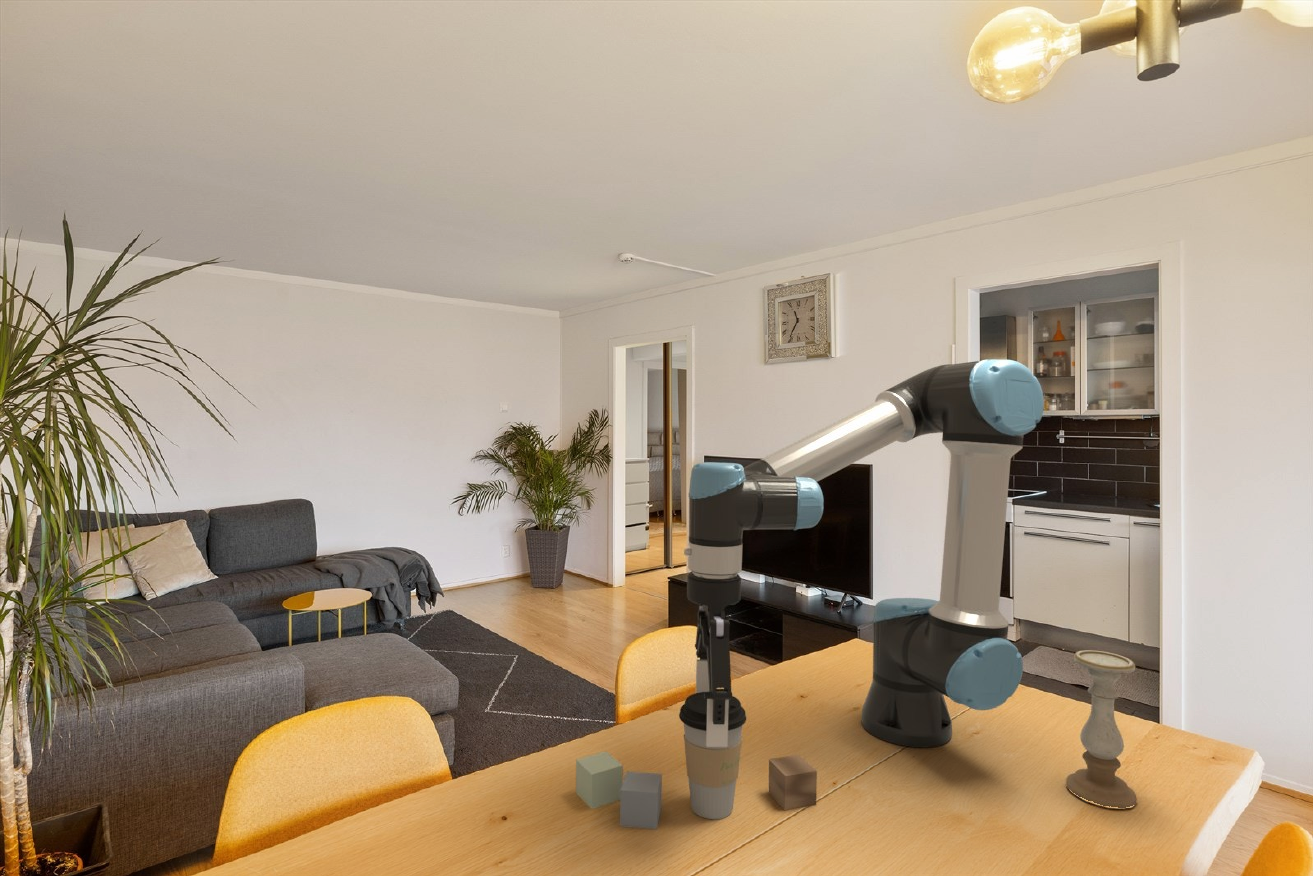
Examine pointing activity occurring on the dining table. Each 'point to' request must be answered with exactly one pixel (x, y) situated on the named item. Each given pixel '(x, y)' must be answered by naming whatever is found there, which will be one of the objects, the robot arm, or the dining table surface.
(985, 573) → the robot arm
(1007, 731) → the dining table surface
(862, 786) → the dining table surface
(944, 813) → the dining table surface
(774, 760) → the walnut cube
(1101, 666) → the candle holder
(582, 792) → the sage cube
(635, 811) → the slate cube
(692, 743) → the coffee cup
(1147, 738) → the dining table surface
